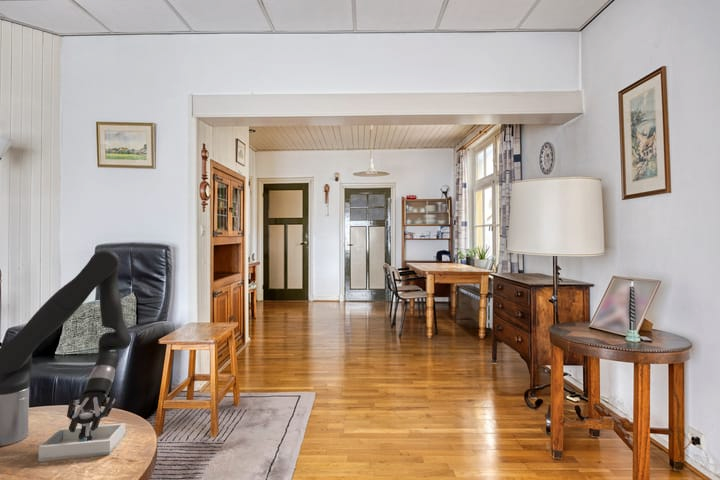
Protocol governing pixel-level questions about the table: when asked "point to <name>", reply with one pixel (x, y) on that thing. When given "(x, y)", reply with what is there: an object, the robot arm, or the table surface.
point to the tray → (82, 443)
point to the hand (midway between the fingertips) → (82, 430)
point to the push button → (85, 425)
